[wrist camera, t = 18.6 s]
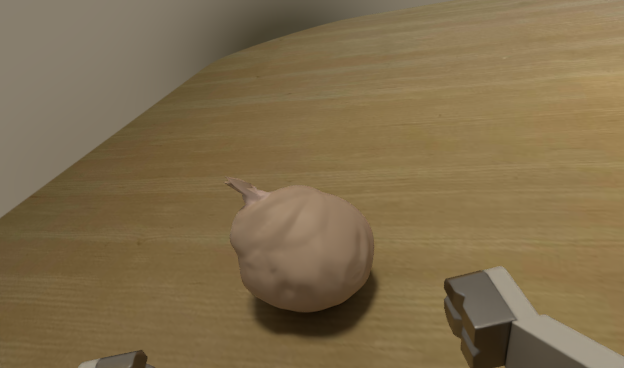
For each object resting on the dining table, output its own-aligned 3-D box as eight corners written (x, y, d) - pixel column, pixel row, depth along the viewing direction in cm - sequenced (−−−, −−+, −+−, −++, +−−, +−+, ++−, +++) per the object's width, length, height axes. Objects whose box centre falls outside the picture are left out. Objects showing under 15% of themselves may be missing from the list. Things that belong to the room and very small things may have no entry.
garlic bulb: (315, 234, 27) (289, 125, 23) (398, 277, 23) (387, 155, 19) (236, 302, 24) (187, 190, 19) (318, 366, 20) (280, 243, 15)
